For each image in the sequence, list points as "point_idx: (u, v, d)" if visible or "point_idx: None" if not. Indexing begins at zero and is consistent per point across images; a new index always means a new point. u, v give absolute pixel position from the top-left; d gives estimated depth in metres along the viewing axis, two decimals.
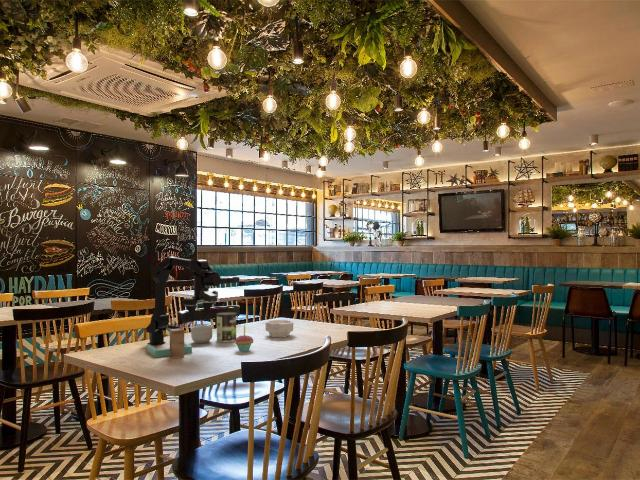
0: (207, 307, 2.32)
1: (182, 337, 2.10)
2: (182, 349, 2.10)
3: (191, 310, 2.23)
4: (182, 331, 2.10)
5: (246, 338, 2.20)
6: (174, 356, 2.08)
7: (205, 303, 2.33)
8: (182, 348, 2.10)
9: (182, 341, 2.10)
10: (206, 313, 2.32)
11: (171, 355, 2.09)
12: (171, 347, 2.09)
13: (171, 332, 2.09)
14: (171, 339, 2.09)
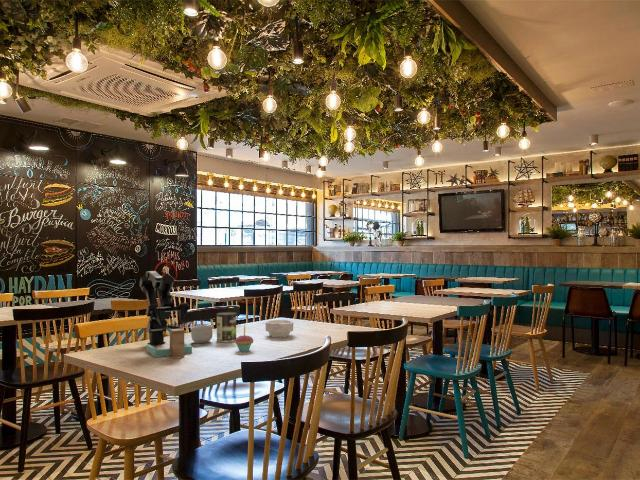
0: None
1: (182, 337, 2.10)
2: (182, 349, 2.10)
3: None
4: (182, 331, 2.10)
5: (246, 338, 2.20)
6: (174, 356, 2.08)
7: None
8: (182, 348, 2.10)
9: (182, 341, 2.10)
10: None
11: (171, 355, 2.09)
12: (171, 347, 2.09)
13: (171, 332, 2.09)
14: (171, 339, 2.09)
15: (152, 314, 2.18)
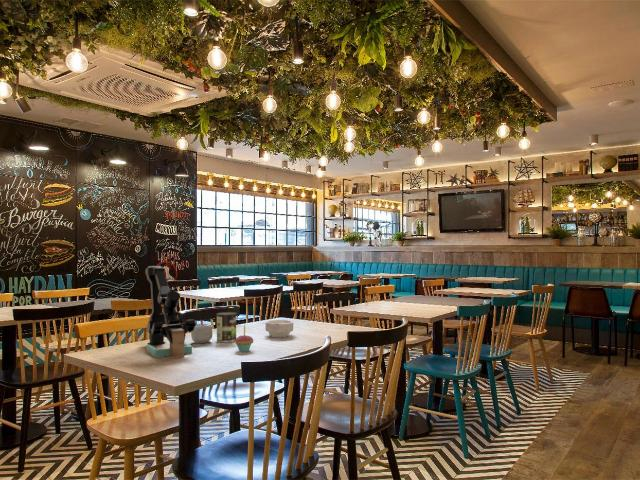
0: None
1: (182, 337, 2.10)
2: (182, 349, 2.10)
3: None
4: (182, 331, 2.10)
5: (246, 338, 2.20)
6: (174, 356, 2.08)
7: None
8: (182, 348, 2.10)
9: (182, 341, 2.10)
10: None
11: (171, 355, 2.09)
12: (171, 347, 2.09)
13: (171, 332, 2.09)
14: None
15: (162, 332, 2.11)
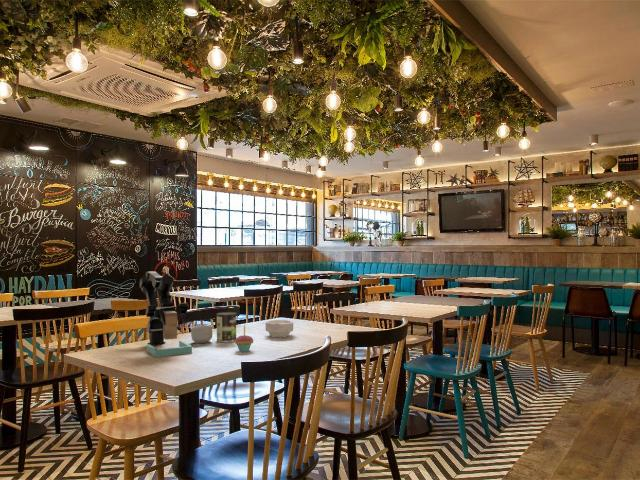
0: None
1: (175, 319, 2.19)
2: (175, 331, 2.19)
3: None
4: (175, 313, 2.19)
5: (246, 338, 2.20)
6: (167, 337, 2.17)
7: None
8: (175, 330, 2.19)
9: (175, 323, 2.19)
10: None
11: (164, 336, 2.19)
12: (164, 329, 2.18)
13: (164, 314, 2.18)
14: None
15: (156, 314, 2.20)
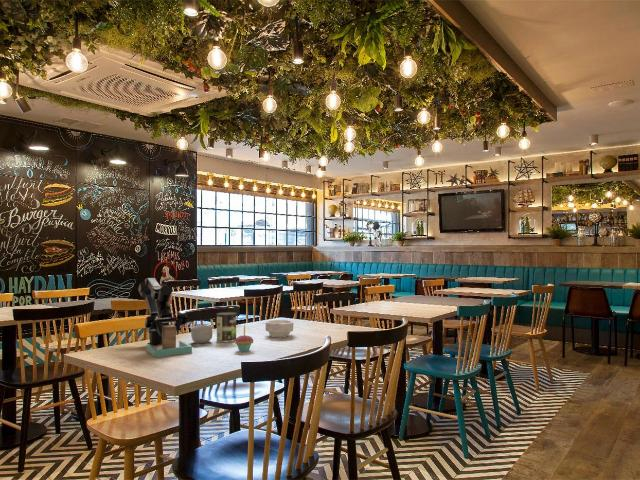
0: None
1: (174, 333, 2.20)
2: (174, 344, 2.20)
3: None
4: (174, 327, 2.20)
5: (246, 338, 2.20)
6: None
7: None
8: (174, 343, 2.20)
9: (174, 337, 2.20)
10: None
11: None
12: (163, 342, 2.20)
13: (163, 328, 2.20)
14: (163, 335, 2.20)
15: (152, 325, 2.21)
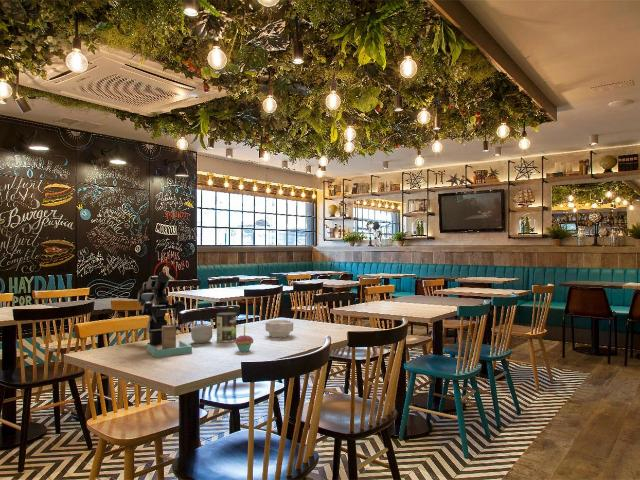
0: None
1: (174, 333, 2.20)
2: (174, 344, 2.20)
3: None
4: (174, 327, 2.20)
5: (246, 338, 2.20)
6: None
7: None
8: (174, 343, 2.20)
9: (174, 337, 2.20)
10: None
11: None
12: (163, 342, 2.20)
13: (163, 328, 2.20)
14: (163, 335, 2.20)
15: (148, 312, 2.25)
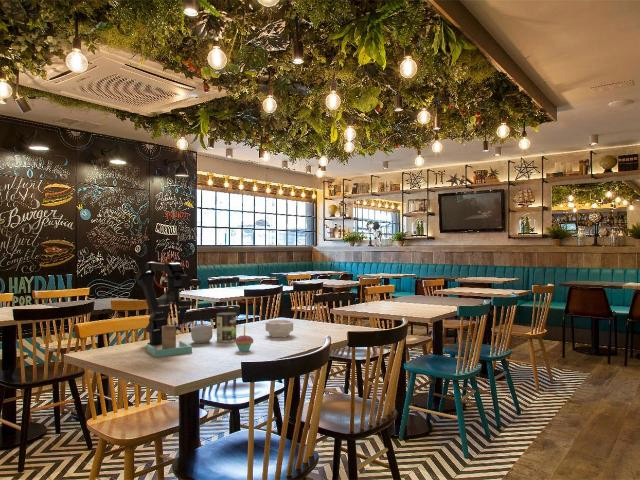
0: None
1: (174, 333, 2.20)
2: (174, 344, 2.20)
3: None
4: (174, 327, 2.20)
5: (246, 338, 2.20)
6: None
7: None
8: (174, 343, 2.20)
9: (174, 337, 2.20)
10: None
11: None
12: (163, 342, 2.20)
13: (163, 328, 2.20)
14: (163, 335, 2.20)
15: (184, 307, 2.28)
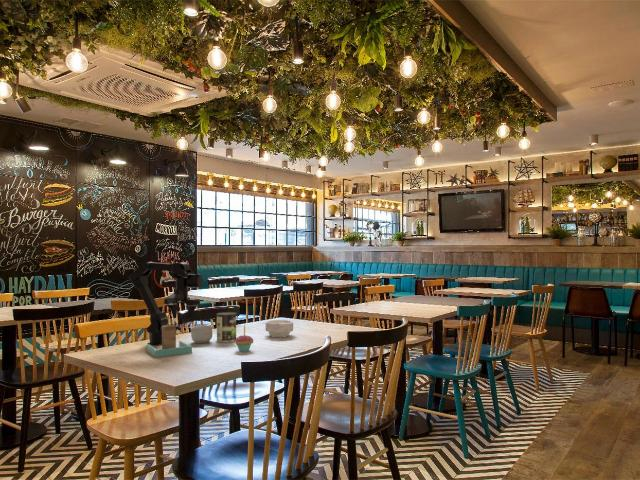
0: None
1: (174, 333, 2.20)
2: (174, 344, 2.20)
3: None
4: (174, 327, 2.20)
5: (246, 338, 2.20)
6: None
7: None
8: (174, 343, 2.20)
9: (174, 337, 2.20)
10: None
11: None
12: (163, 342, 2.20)
13: (163, 328, 2.20)
14: (163, 335, 2.20)
15: (193, 306, 2.34)
